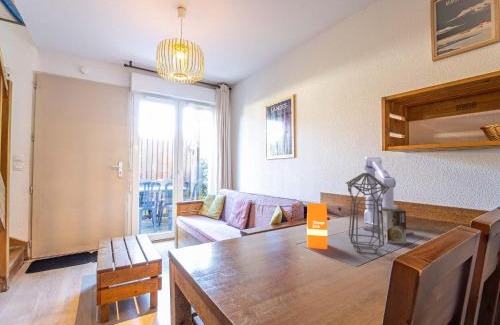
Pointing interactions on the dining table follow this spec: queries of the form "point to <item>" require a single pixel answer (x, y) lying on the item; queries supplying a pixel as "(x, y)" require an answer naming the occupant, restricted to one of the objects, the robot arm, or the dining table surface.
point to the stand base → (381, 230)
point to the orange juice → (316, 226)
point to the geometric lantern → (366, 204)
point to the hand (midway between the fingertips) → (387, 222)
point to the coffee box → (394, 225)
